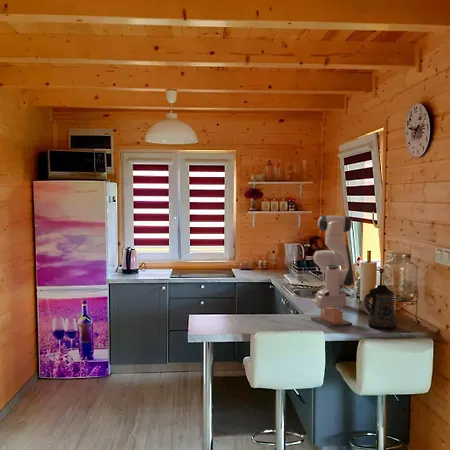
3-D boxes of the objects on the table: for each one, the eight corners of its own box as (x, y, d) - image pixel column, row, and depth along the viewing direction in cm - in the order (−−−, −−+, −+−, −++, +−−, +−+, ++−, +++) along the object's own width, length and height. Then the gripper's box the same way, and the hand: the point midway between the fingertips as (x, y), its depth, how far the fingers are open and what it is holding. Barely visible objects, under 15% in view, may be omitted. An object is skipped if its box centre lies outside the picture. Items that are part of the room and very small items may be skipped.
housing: (320, 317, 291) (320, 306, 291) (328, 317, 294) (328, 306, 293) (334, 323, 278) (334, 311, 278) (342, 322, 281) (342, 311, 280)
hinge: (380, 316, 303) (375, 302, 302) (373, 319, 303) (369, 304, 302) (369, 310, 320) (365, 296, 319) (363, 312, 319) (359, 299, 318)
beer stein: (402, 327, 276) (403, 286, 275) (385, 333, 263) (386, 290, 262) (376, 322, 289) (378, 282, 287) (359, 327, 276) (360, 285, 274)
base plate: (310, 319, 292) (311, 311, 292) (332, 317, 298) (332, 309, 298) (330, 328, 274) (330, 319, 273) (352, 325, 280) (352, 317, 280)
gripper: (342, 289, 292) (342, 311, 293) (315, 292, 284) (314, 314, 285) (349, 291, 286) (348, 314, 287) (321, 294, 278) (320, 317, 279)
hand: (331, 314), depth 286 cm, fingers open, 8 cm apart
